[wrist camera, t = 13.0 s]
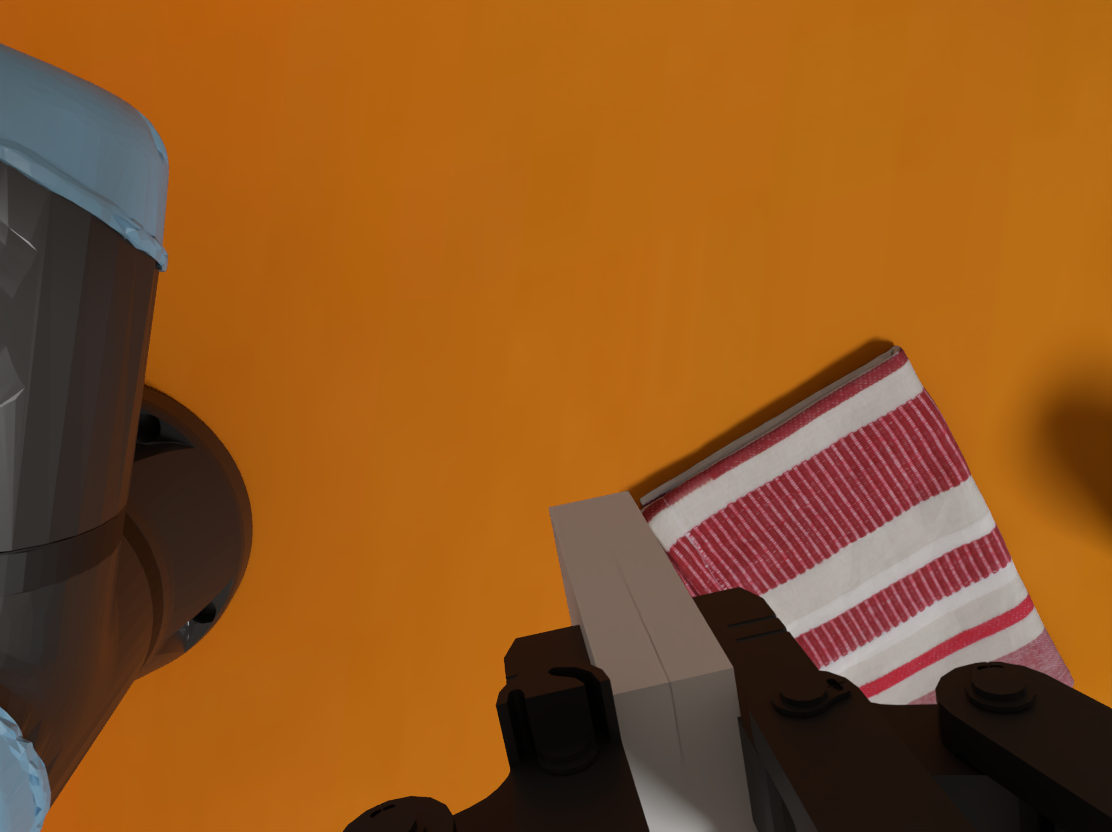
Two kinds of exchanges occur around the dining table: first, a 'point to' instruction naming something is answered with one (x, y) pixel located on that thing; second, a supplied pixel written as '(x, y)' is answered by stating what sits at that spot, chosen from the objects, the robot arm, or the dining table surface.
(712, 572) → the dish towel
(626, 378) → the dining table surface
